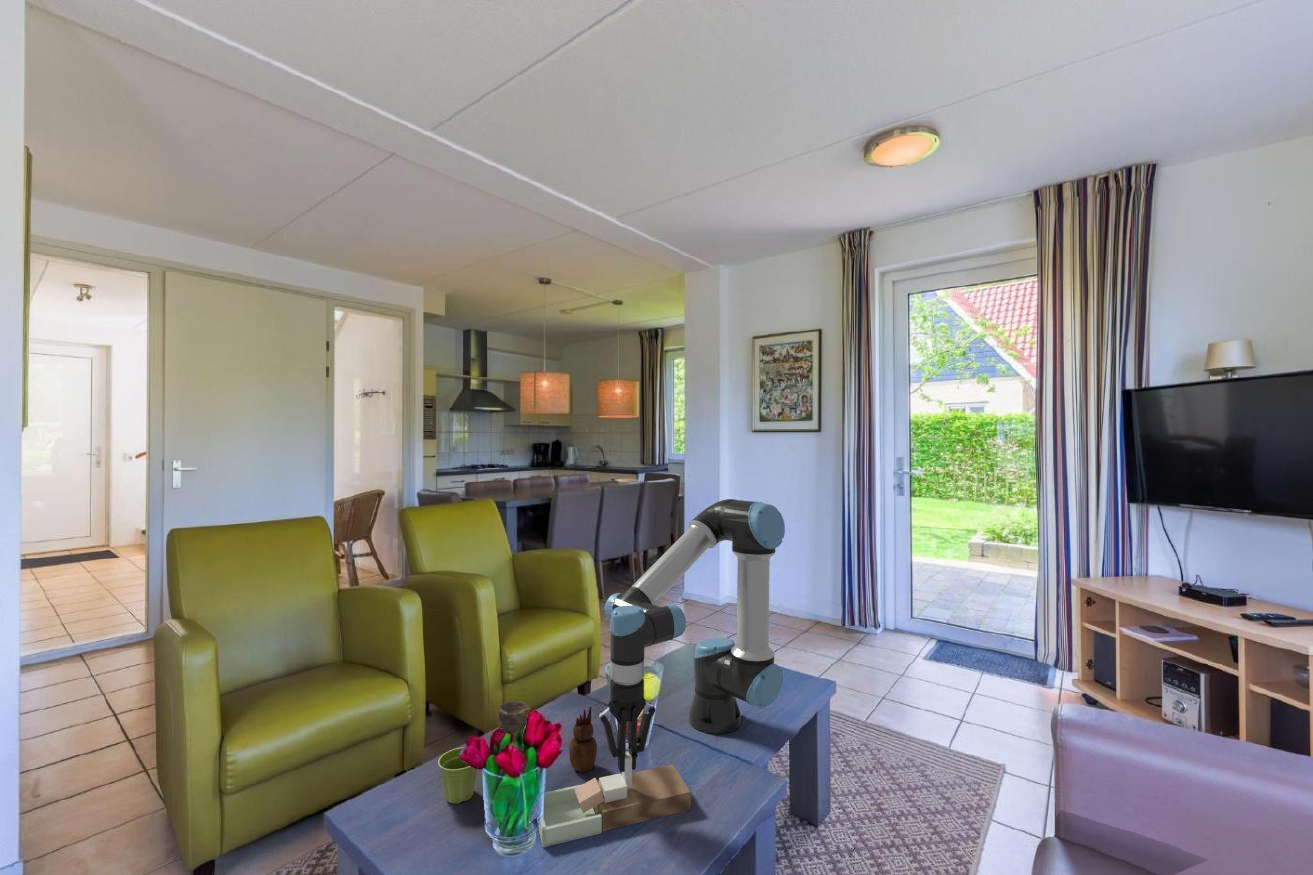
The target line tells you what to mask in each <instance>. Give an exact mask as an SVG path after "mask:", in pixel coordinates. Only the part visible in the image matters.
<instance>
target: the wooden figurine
mask: <svg viewBox="0 0 1313 875" xmlns="http://www.w3.org/2000/svg"><path fill="white" fill-rule="evenodd" d="M572 732H573V733H572V734H573V737H572V738H571V740H570V742H569V745H568V746H569V748H568V749H569V756H568V757H569V761H570V764H571V767H572V768H573V769H574V770H575V771H577V772H583V773H584V772H588V771H590V770H591V769H593V767H594V765H595V763H596V760H597V754H598V744H597V743H598V742H597V740H596V739H595V737H593V734H594V727H593V724H592V706H590V707H589V709H588V714H587V713H586V709H583V715H582V713H579V717H576V720H575V724H574V725H573V728H572Z"/></svg>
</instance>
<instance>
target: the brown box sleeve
mask: <svg viewBox="0 0 1313 875" xmlns="http://www.w3.org/2000/svg"><path fill="white" fill-rule="evenodd" d="M675 767H676V766H674V764H668V765H664V766H660V767H659V766H658V767H653V768H650V769H645V770H644V769H643V770H639V771H634V772H632V787H630V788H627V798H624V799H620V800H615V801H611V802H607V803H605V802H602V803H600V804H598V805H597V806H595V807H593V809H594V812H595V815H599V814H601V816H602V832H605V831H609V830H614V829H617V828H618V829H619V828H622V827H625V826H630V825H633V824H639V823H642V822H647V821H650V820H655V819H659V818H663V817H666V816H671V815H675V814H679V813H684V812H687V811H691V810H692V803H691V802H692V796H691V795H692V791H691V790H690V788H689V787H688V785H687V784H686V782H685V781H684V779H683V778H682V776H681V775H680V773H679V771H677V768H675ZM596 780H597V779H596ZM597 783H598V785H599V779H598V780H597Z"/></svg>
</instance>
